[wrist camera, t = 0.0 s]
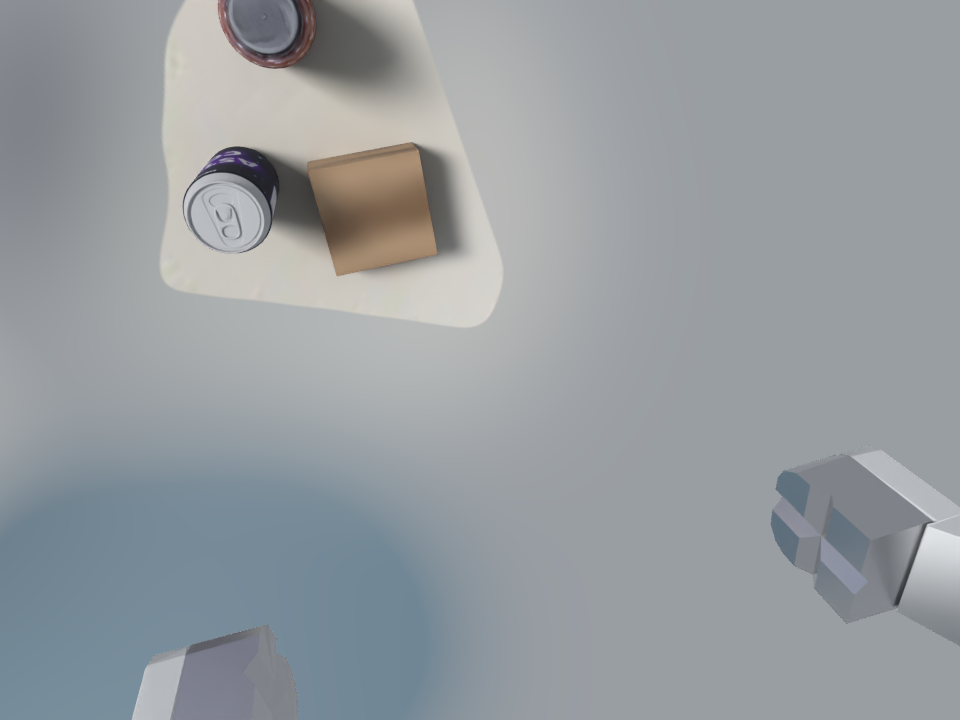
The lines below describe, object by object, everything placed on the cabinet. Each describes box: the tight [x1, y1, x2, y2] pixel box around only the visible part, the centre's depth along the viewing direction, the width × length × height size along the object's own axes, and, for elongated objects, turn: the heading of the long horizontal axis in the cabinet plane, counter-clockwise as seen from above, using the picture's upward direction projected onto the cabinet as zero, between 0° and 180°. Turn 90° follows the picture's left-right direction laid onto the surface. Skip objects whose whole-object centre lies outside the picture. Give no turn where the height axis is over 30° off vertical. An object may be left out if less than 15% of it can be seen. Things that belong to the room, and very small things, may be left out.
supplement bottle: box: [218, 0, 316, 69], centre depth 40 cm, size 6×6×11 cm
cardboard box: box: [308, 142, 437, 276], centre depth 51 cm, size 9×9×4 cm
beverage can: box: [183, 147, 279, 254], centre depth 45 cm, size 6×6×12 cm
